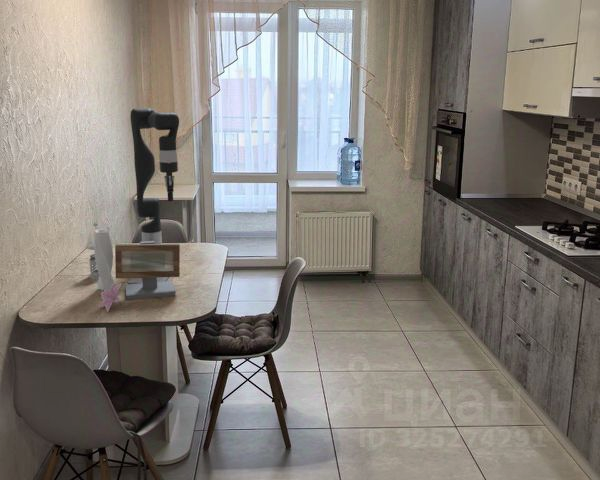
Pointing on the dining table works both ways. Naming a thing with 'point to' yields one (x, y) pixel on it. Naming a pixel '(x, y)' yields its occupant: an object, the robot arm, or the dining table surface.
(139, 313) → the dining table surface
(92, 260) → the french press
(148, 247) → the picture frame
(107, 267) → the skyscraper
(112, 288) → the lily
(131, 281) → the play button award
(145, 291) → the display stand
